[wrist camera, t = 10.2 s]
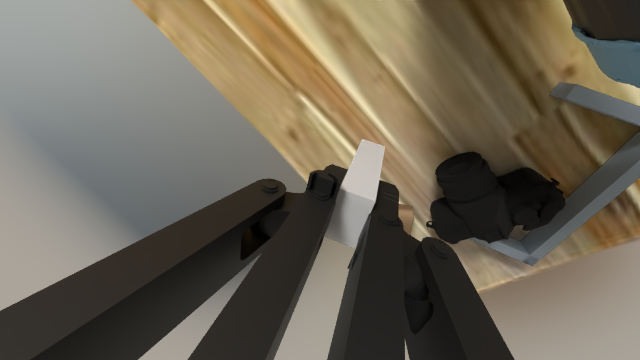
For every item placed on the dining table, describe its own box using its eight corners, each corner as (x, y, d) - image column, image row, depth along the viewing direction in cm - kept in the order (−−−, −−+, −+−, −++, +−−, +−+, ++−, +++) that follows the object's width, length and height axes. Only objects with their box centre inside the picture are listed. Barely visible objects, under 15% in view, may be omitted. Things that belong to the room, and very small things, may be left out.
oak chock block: (375, 199, 40) (373, 212, 37) (412, 205, 39) (413, 219, 36) (372, 218, 42) (370, 232, 39) (407, 225, 41) (408, 240, 37)
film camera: (518, 125, 30) (561, 148, 22) (544, 186, 32) (590, 225, 25) (405, 175, 37) (408, 206, 29) (432, 222, 39) (442, 262, 32)
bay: (559, 82, 27) (576, 84, 24) (669, 120, 26) (700, 127, 23) (449, 220, 38) (453, 232, 36) (522, 251, 37) (532, 266, 34)
